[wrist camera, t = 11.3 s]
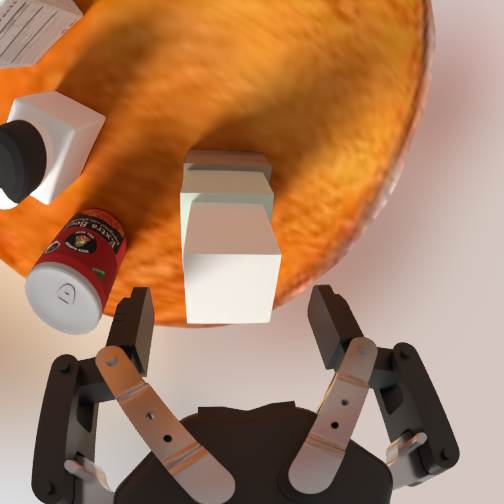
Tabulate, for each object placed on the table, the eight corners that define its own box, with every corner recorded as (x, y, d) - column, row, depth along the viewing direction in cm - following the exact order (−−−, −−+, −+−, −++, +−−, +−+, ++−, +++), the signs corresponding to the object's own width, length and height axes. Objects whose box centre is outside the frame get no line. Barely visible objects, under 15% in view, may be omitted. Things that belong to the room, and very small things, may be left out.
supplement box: (9, 30, 14) (-70, 31, 3) (58, -20, 12) (-13, -48, 2) (34, 68, 18) (-51, 80, 7) (86, 16, 16) (11, -9, 6)
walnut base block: (189, 149, 26) (183, 163, 21) (262, 152, 27) (272, 166, 22) (187, 215, 29) (183, 240, 25) (255, 217, 30) (262, 242, 26)
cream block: (191, 201, 18) (183, 253, 13) (262, 203, 19) (281, 254, 14) (192, 261, 21) (187, 323, 16) (255, 262, 21) (269, 322, 16)
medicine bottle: (54, 89, 20) (-25, 107, 10) (108, 116, 22) (42, 145, 12) (31, 150, 22) (-41, 196, 12) (79, 178, 25) (19, 237, 15)
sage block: (186, 170, 22) (179, 193, 18) (262, 172, 23) (274, 195, 18) (187, 236, 25) (183, 270, 21) (255, 236, 26) (264, 270, 22)
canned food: (137, 220, 29) (107, 287, 20) (119, 275, 32) (95, 346, 23) (74, 195, 26) (23, 252, 17) (64, 253, 29) (25, 317, 20)
